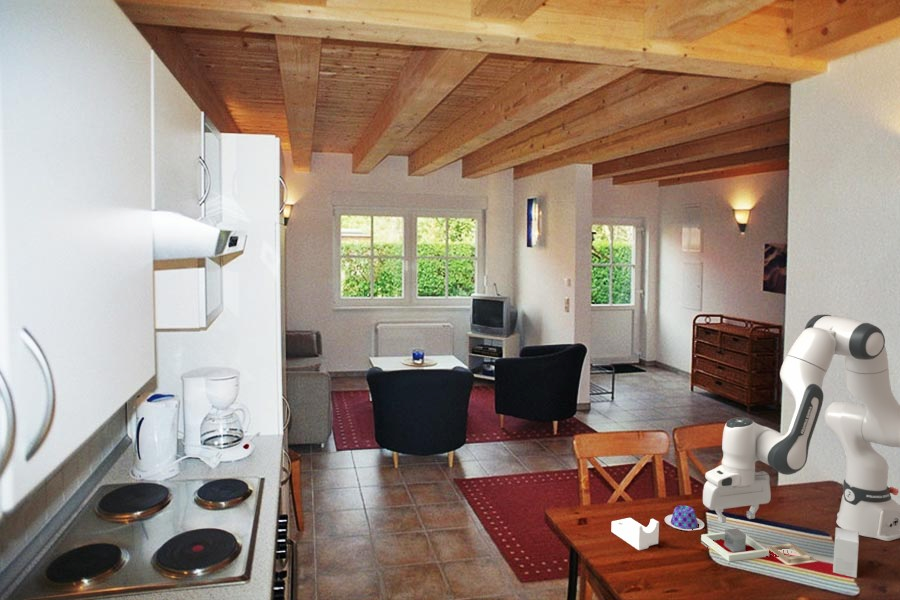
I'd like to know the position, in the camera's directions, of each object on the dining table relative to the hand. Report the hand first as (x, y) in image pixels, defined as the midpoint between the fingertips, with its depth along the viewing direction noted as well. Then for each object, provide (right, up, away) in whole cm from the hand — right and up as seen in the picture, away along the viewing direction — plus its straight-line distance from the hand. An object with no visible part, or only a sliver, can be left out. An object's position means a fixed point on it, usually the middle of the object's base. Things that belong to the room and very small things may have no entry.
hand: (736, 519), depth 191 cm
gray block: (0, -9, 0) cm, 9 cm away
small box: (+25, -11, -11) cm, 29 cm away
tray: (0, -9, 0) cm, 9 cm away
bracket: (-28, -9, +8) cm, 30 cm away
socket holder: (+14, -10, -3) cm, 17 cm away
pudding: (-9, -8, +18) cm, 22 cm away
